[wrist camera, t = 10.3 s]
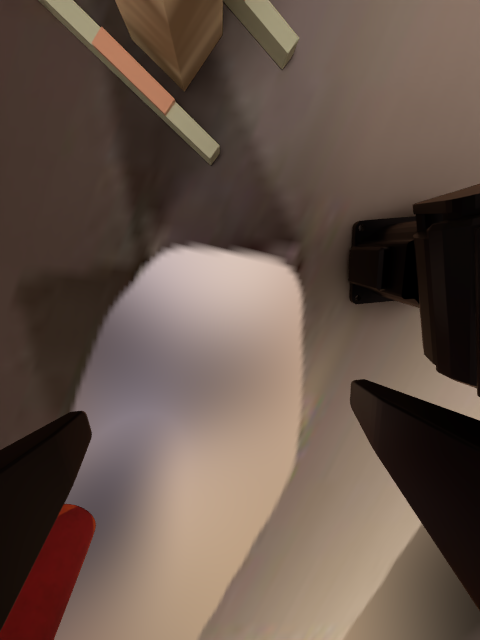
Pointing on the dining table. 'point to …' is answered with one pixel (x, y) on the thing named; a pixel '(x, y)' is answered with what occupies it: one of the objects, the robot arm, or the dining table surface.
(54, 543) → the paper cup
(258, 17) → the sage rail
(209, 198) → the dining table surface
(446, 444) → the robot arm
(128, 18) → the birch finger
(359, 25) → the dining table surface
